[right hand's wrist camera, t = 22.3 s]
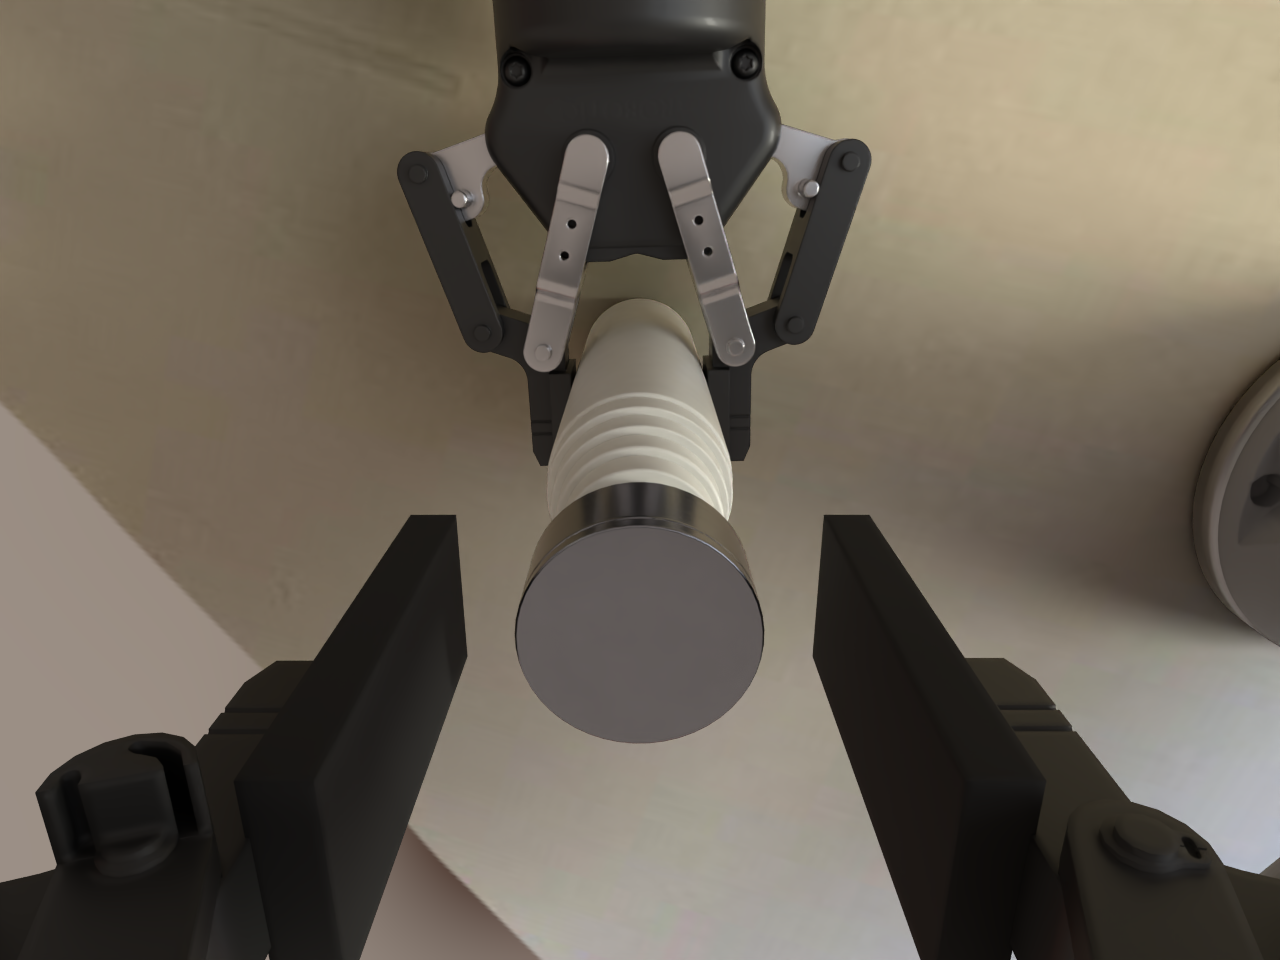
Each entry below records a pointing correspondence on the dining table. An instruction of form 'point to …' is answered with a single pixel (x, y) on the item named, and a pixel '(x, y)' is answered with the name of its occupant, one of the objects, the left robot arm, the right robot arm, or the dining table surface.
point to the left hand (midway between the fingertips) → (643, 470)
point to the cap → (639, 615)
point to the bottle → (639, 412)
